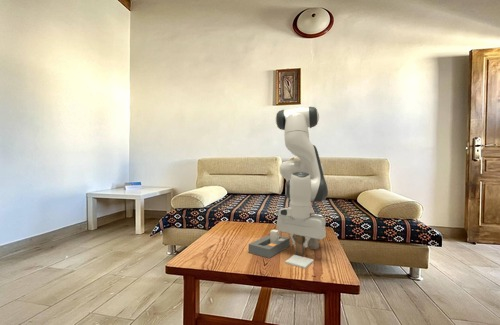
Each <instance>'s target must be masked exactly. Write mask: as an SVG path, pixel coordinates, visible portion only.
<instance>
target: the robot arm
mask: <svg viewBox="0 0 500 325" xmlns="http://www.w3.org/2000/svg"><path fill="white" fill-rule="evenodd" d="M319 119H320V113H319V111H318V109H317V107H315V106H308V107H307V106H304V107H303V106H301V107H293V108H288V109H281V110H279V111H277V113H276V116H275V124H276V126H277V128H278V129H279V130H282V131H284V145H285V147H286V149H287V150H288V151H289V152H290V153H291V154H292V155H294V156H296V157H297V158H299V160H292V159H291V160H286V161H283V162H282V163H281V164H280V166H279V173H280V175H281V177H282V178H284V179H285V180H286V182H285V184H284V185H285V194H284V196H285V197H286V198H287V199H288V200H289V206H287V207H283V208H280V209H278V216H277V220H276V230H278V231H279V233H281V232H282V233H285V234H286V233H287V234H289V238H290V240H291V241H292V245H294V246H295V235H300V236H305V242H303V247H305V248H308V242H309V240H310V239H311V238H315V239H318V240H323V239H324V238H326V236H327V235H326V234H327V232H326V222H327V221H326V218H325V216H323V214H317V213H315V212H314V211H313V209H312V208H313V207H312V206H313V202H315V203H321V202H323V201H325V200H326V199H327V198H328V195H329V188H328V184H327V182H326V179H325V178H326V177H325V176H324V171H325V168H324V165H323V163H322V162H321V159H320V154H319V152H318V149H317V147H316V145H314V144H313V143H312V142H311V140H310V133H309V128H310V129H312V128H314V127H316V126H317V125H318V124H319ZM312 213H315V214H312Z"/></svg>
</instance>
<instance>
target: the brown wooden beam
mask: <svg viewBox="0 0 500 325" xmlns="http://www.w3.org/2000/svg"><path fill="white" fill-rule="evenodd" d="M305 241H306V239H305V236H300V235H295V245H294V255H297V256H301V257H304V256H305V255H306V247H303V242H305Z"/></svg>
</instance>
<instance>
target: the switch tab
mask: <svg viewBox="0 0 500 325" xmlns="http://www.w3.org/2000/svg"><path fill="white" fill-rule="evenodd" d="M269 233H270V234H269V235H270V243H272V242H274V241H276V240H278V239H279V236H280V231H278V230H277V229H271V230H270V232H269Z"/></svg>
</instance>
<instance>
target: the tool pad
mask: <svg viewBox="0 0 500 325" xmlns="http://www.w3.org/2000/svg"><path fill="white" fill-rule="evenodd" d="M313 263H314V259H313V258H309V257H305V256H302V257H301V256H297V255H295V254H293V255H292V256H291V257H289V258H287V260H285V264H287V265H292V266H294V267H298V268H302V269H307V268H308V267H309V266H310V265H312V264H313Z"/></svg>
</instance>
